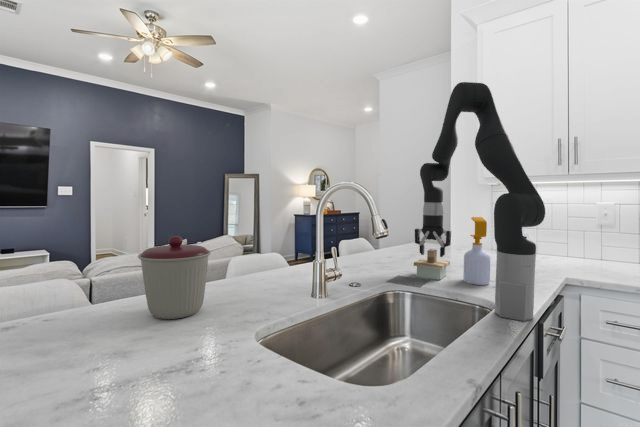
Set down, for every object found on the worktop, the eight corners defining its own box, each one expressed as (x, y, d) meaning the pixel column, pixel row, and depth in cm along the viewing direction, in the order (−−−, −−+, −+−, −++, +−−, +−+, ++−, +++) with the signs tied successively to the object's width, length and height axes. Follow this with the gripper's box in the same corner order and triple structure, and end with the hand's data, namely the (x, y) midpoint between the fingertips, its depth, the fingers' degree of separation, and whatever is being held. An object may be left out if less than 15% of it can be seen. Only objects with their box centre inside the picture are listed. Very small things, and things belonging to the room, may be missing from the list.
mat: (420, 288, 120) (420, 287, 120) (385, 283, 127) (385, 281, 127) (430, 281, 131) (430, 280, 131) (398, 276, 138) (398, 275, 138)
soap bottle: (483, 279, 134) (485, 216, 132) (493, 285, 125) (495, 218, 123) (459, 279, 134) (461, 216, 133) (468, 285, 125) (470, 218, 124)
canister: (142, 331, 81) (140, 242, 80) (136, 309, 96) (134, 234, 95) (219, 317, 90) (218, 237, 89) (202, 299, 106) (202, 231, 105)
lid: (442, 269, 129) (442, 253, 128) (413, 265, 135) (413, 250, 134) (449, 264, 138) (450, 249, 137) (422, 261, 144) (422, 247, 144)
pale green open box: (439, 281, 130) (440, 268, 130) (416, 278, 135) (416, 265, 135) (446, 276, 138) (446, 264, 137) (423, 273, 143) (423, 261, 143)
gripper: (411, 213, 136) (411, 255, 137) (449, 215, 128) (448, 259, 129) (418, 213, 142) (417, 252, 143) (454, 214, 134) (453, 256, 135)
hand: (432, 255), depth 136 cm, fingers open, 7 cm apart
